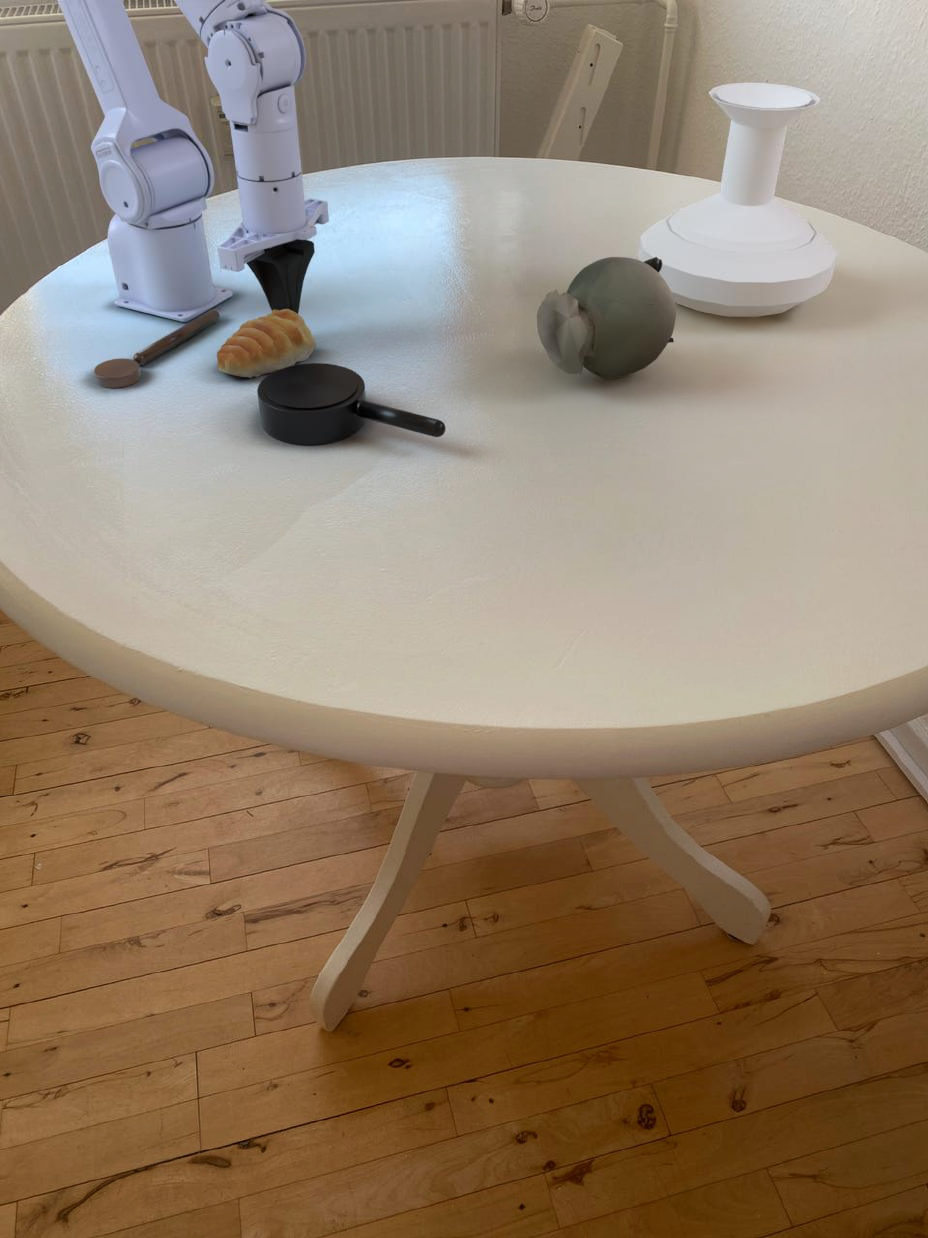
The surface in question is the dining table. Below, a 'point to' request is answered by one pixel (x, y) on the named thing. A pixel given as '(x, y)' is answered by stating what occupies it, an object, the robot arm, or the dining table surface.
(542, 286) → the dining table surface
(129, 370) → the spoon
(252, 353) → the pastry
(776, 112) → the candle holder
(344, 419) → the pan
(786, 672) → the dining table surface
